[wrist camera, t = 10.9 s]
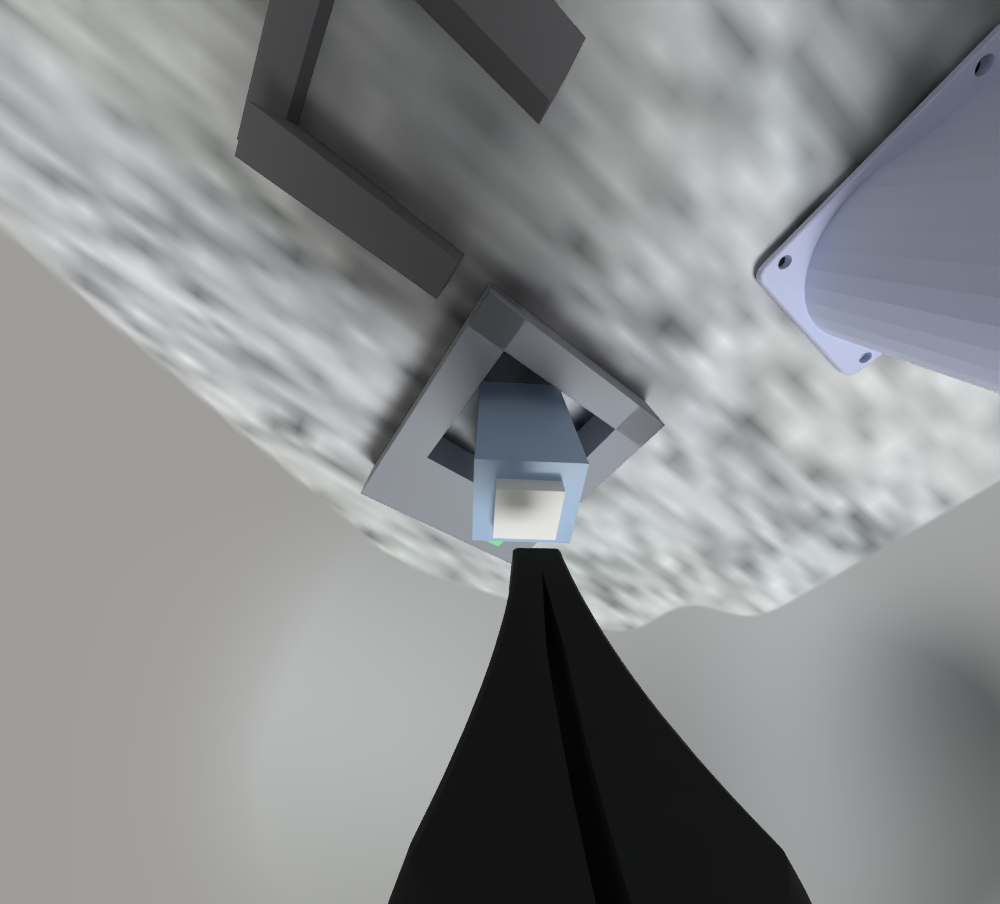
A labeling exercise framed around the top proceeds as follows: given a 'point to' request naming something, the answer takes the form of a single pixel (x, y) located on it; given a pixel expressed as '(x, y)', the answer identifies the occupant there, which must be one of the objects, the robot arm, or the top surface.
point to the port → (482, 339)
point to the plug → (526, 465)
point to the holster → (338, 186)
